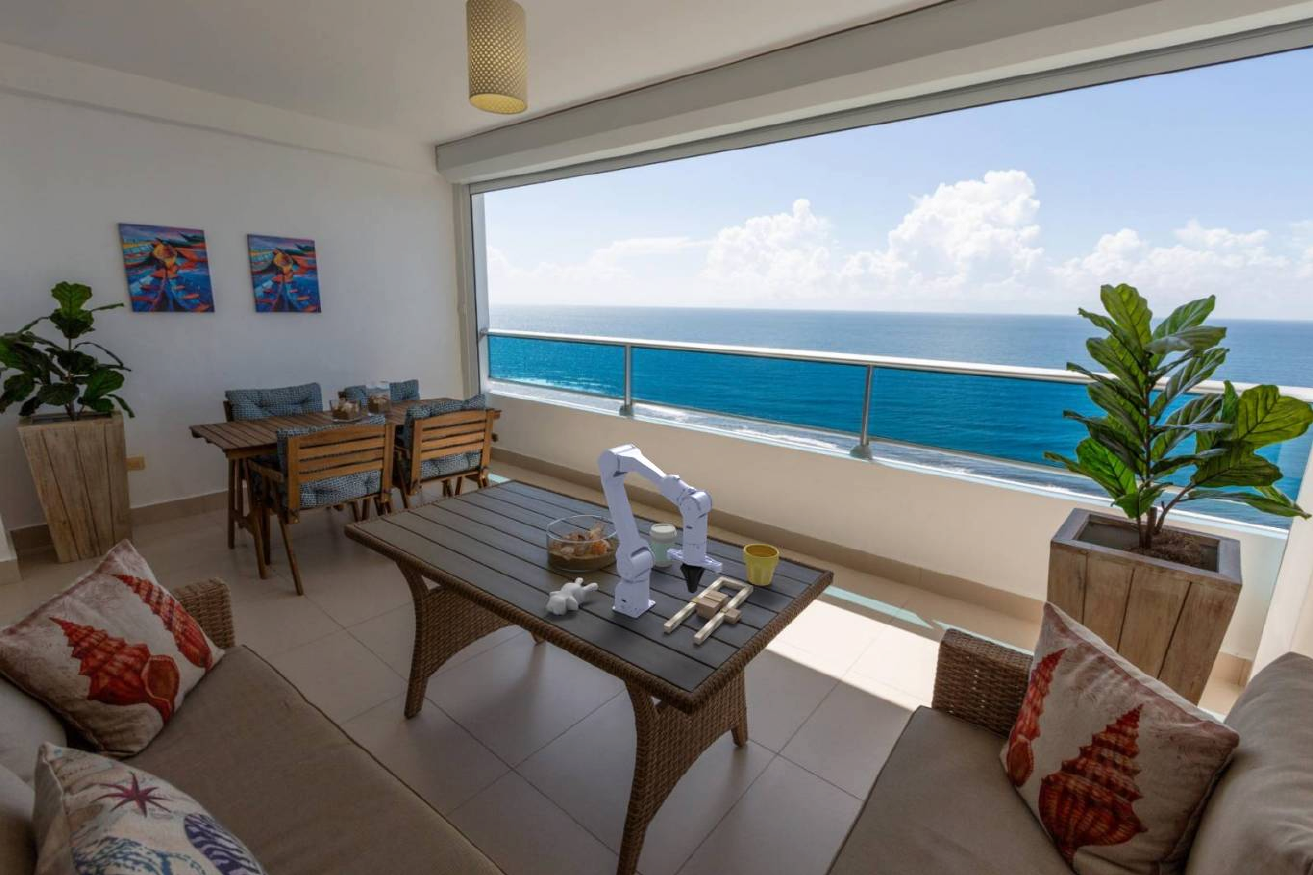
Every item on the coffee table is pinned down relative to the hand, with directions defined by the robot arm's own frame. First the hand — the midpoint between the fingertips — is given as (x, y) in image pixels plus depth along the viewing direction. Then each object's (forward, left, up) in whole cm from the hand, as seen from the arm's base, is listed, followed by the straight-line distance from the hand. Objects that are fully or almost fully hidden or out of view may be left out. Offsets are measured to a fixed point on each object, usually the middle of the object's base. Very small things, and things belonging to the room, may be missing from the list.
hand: (692, 591), depth 138 cm
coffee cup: (+27, +26, -10) cm, 39 cm away
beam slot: (+11, -2, -10) cm, 15 cm away
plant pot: (+34, -4, -10) cm, 36 cm away
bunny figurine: (-8, +33, -11) cm, 36 cm away
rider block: (+10, -1, -11) cm, 15 cm away
